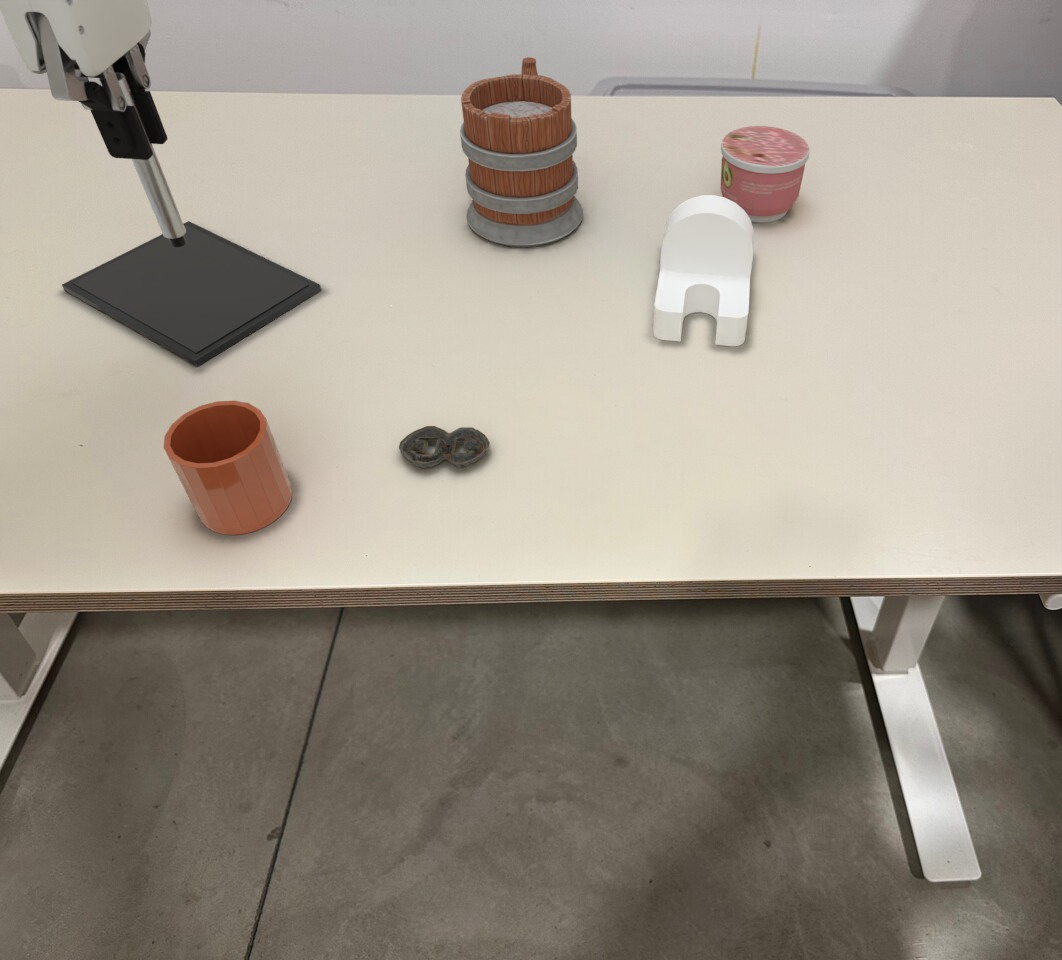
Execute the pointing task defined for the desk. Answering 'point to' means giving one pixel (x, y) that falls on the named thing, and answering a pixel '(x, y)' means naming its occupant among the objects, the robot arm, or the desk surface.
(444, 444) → the corroded twin loop
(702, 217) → the u-slot stand
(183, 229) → the stylus
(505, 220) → the mug
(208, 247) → the tablet
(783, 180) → the container
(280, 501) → the holder
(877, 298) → the desk surface
